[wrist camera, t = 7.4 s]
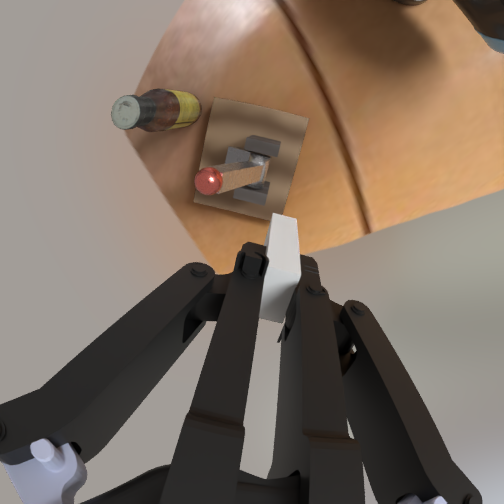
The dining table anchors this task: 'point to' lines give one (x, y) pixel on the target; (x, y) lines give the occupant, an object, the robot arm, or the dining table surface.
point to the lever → (234, 172)
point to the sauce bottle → (156, 110)
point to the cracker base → (235, 135)
